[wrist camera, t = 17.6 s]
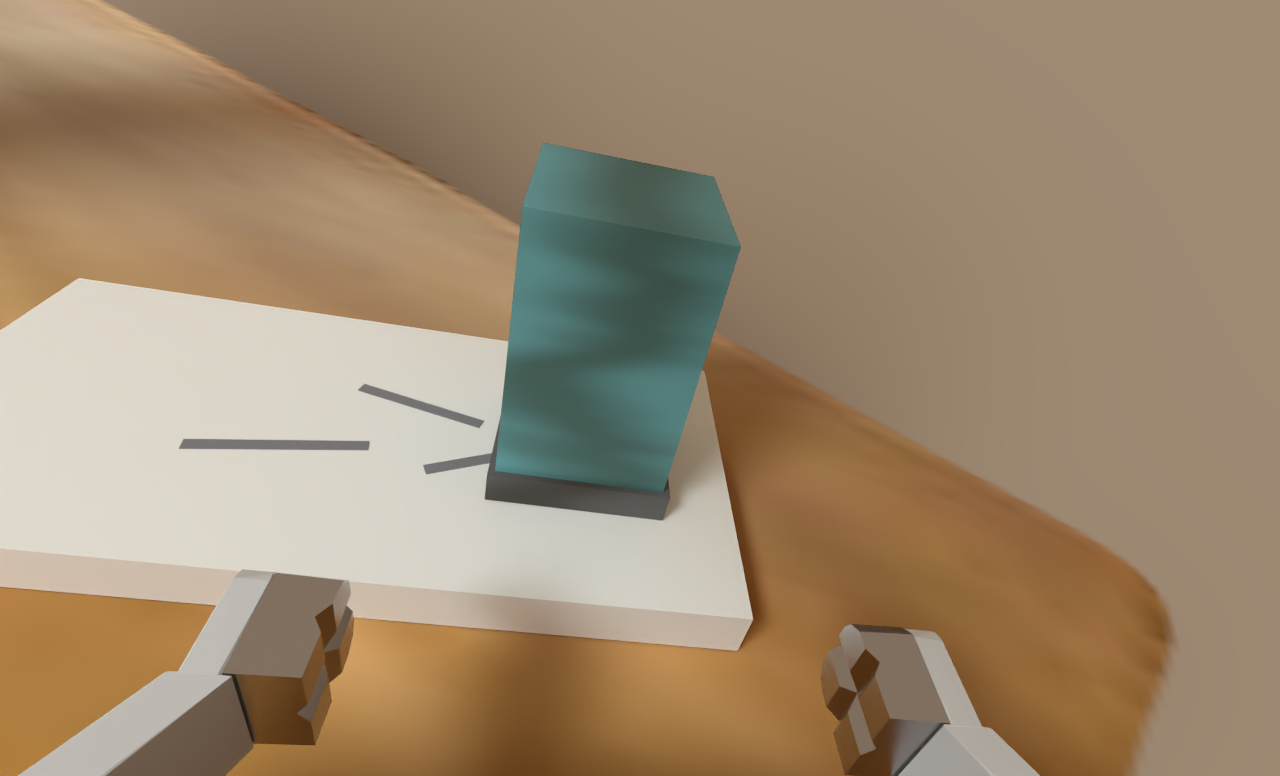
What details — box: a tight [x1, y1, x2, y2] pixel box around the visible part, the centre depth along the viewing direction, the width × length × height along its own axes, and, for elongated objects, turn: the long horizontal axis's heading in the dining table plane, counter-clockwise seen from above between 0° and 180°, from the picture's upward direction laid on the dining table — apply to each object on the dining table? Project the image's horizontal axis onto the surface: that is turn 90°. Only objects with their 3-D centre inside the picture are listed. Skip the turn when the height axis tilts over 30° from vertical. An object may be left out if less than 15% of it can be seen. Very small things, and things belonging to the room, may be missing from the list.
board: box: [0, 278, 753, 651], centre depth 21 cm, size 24×12×2 cm, turn 92°
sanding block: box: [485, 143, 741, 521], centre depth 19 cm, size 5×5×9 cm
